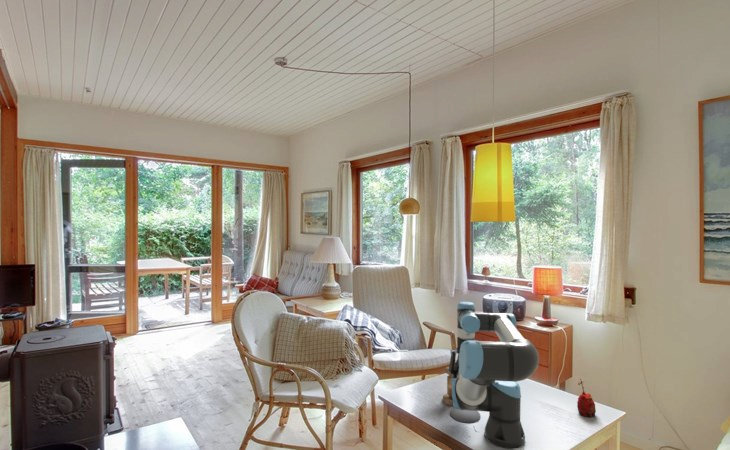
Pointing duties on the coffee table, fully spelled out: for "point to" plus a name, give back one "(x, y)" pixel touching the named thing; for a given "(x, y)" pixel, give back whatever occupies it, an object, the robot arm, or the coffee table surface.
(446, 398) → the doorknob
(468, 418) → the pad
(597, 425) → the coffee table surface
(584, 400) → the red bumpy oval
